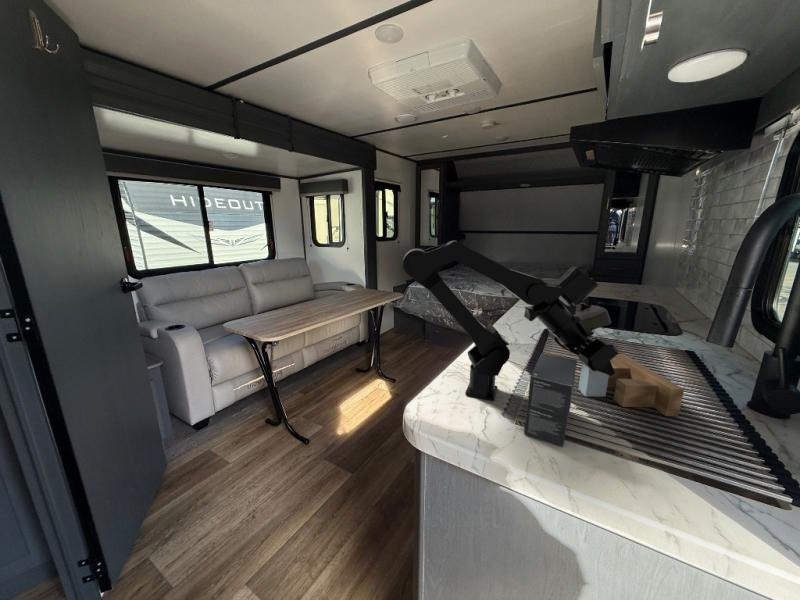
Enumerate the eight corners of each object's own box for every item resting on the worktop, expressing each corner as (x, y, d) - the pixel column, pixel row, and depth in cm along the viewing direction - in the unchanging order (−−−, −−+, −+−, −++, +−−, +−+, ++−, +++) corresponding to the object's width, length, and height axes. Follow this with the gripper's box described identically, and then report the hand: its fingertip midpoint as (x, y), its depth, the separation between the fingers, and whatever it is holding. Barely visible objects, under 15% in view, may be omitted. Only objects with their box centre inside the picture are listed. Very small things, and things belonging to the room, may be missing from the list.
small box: (564, 448, 54) (572, 386, 51) (523, 435, 58) (528, 376, 55) (570, 412, 65) (577, 358, 62) (535, 402, 68) (540, 351, 66)
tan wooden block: (633, 415, 64) (638, 388, 62) (584, 375, 81) (587, 353, 80) (678, 416, 63) (684, 389, 62) (619, 375, 81) (623, 354, 80)
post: (585, 396, 71) (592, 346, 68) (578, 389, 74) (584, 342, 71) (605, 396, 71) (613, 346, 68) (597, 389, 74) (604, 342, 71)
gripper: (615, 304, 58) (665, 360, 60) (566, 287, 76) (605, 330, 79) (568, 344, 60) (617, 396, 62) (530, 317, 78) (570, 358, 80)
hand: (601, 366), depth 71 cm, fingers open, 7 cm apart
